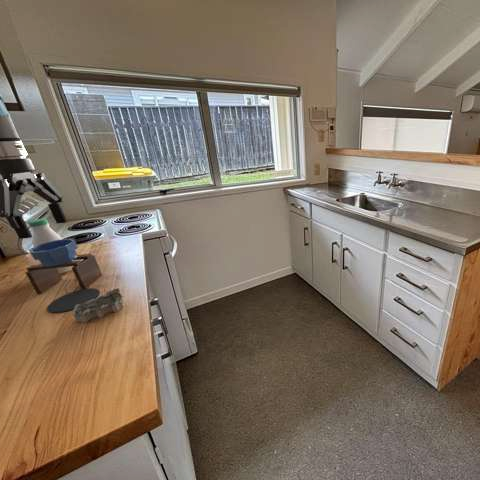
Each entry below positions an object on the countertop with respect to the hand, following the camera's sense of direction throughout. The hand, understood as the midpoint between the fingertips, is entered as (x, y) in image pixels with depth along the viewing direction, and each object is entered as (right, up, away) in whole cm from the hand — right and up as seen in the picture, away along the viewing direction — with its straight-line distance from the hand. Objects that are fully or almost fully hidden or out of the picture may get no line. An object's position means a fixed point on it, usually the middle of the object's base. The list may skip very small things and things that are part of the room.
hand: (45, 229), depth 79 cm
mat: (+10, -21, -1) cm, 24 cm away
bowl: (0, -10, +4) cm, 11 cm away
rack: (+1, -18, +8) cm, 20 cm away
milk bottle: (-12, -15, +17) cm, 26 cm away
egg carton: (+23, -24, -7) cm, 34 cm away
